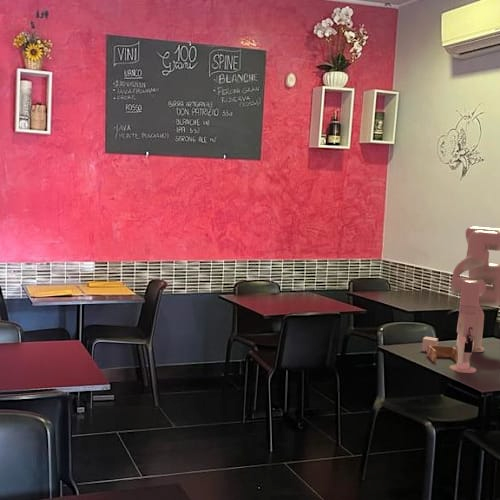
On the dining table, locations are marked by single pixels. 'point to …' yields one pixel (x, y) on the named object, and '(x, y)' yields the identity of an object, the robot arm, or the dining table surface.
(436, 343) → the pale pink cube
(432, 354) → the wooden u-shaped bracket
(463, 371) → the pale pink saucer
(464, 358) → the beer glass
